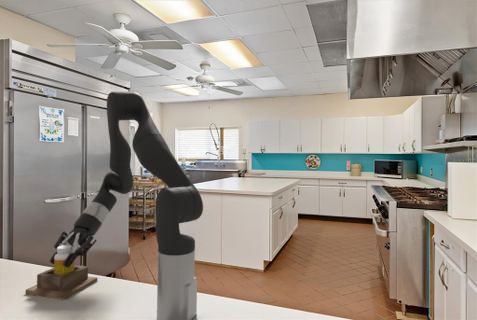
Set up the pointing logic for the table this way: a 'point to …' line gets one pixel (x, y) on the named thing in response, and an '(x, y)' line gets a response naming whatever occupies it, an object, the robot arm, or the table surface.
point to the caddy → (61, 283)
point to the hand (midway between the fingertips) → (58, 264)
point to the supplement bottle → (62, 260)
